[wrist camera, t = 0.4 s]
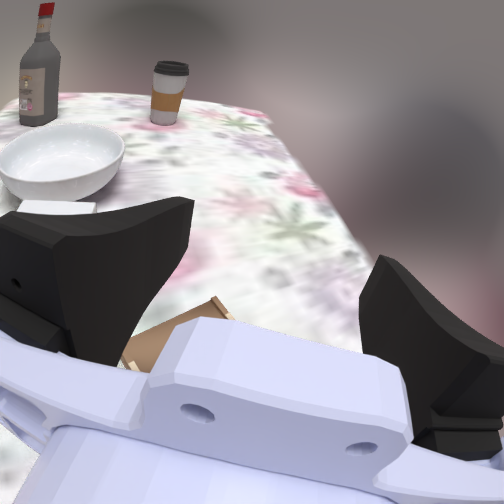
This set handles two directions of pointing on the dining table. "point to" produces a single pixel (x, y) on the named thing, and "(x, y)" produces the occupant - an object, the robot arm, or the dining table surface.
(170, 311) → the dining table surface
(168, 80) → the coffee cup
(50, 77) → the liquor
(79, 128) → the serving bowl
